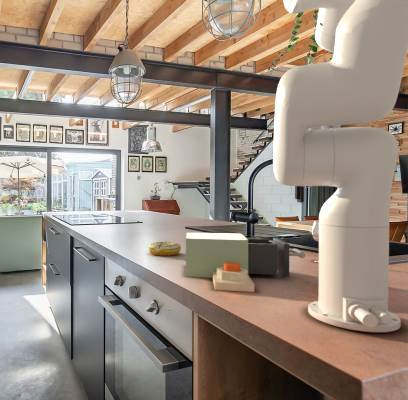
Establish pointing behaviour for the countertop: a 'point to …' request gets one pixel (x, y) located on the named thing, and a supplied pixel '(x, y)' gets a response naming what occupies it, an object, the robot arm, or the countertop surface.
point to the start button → (232, 266)
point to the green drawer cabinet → (214, 252)
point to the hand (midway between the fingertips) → (321, 202)
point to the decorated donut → (164, 248)
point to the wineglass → (316, 233)
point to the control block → (232, 280)
